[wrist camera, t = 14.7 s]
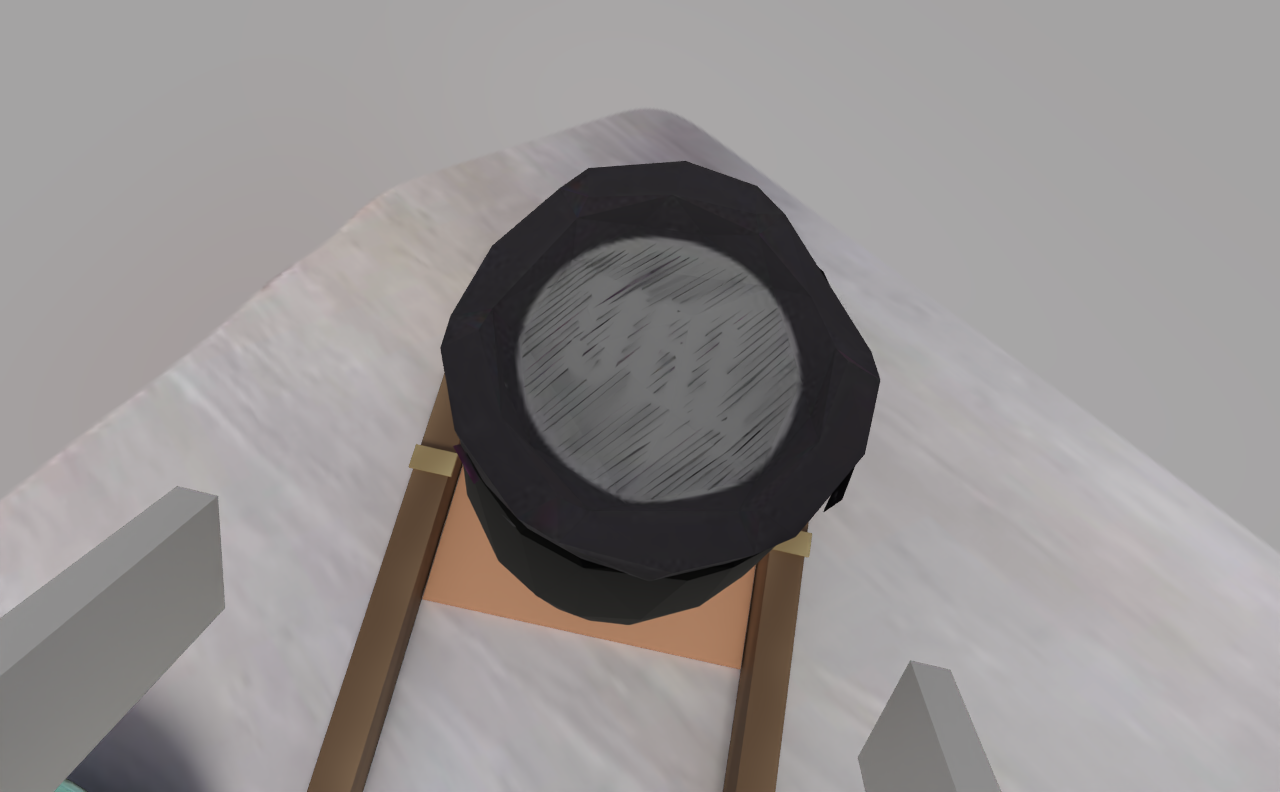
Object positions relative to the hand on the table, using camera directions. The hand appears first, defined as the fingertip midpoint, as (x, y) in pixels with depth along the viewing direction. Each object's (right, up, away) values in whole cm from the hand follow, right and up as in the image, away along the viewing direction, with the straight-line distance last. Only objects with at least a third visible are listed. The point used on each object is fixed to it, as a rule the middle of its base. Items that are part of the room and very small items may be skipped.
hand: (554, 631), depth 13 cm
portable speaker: (0, -1, +18) cm, 18 cm away
